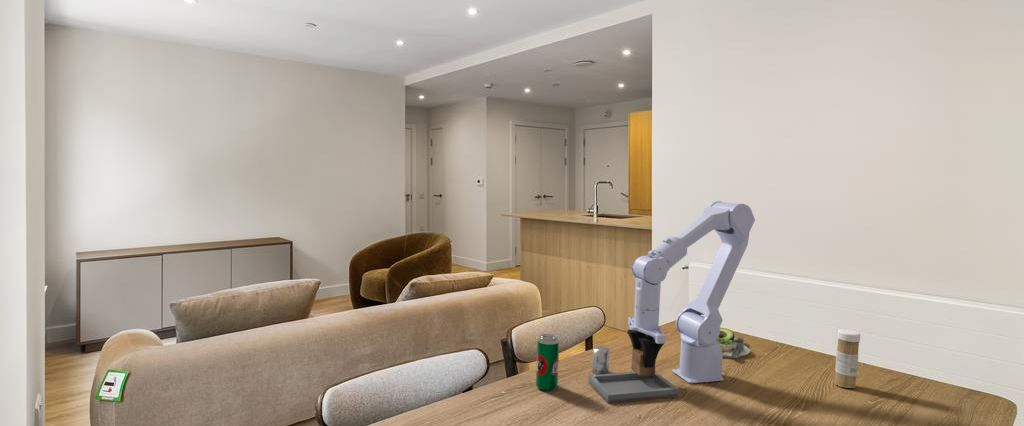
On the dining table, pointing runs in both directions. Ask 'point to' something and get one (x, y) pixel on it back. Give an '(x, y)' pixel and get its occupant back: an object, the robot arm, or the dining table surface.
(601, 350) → the steel cylinder
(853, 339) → the sprinkles bottle
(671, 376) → the dining table surface
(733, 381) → the dining table surface
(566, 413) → the dining table surface
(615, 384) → the tray
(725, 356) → the salad plate
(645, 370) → the walnut block
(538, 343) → the soda can
